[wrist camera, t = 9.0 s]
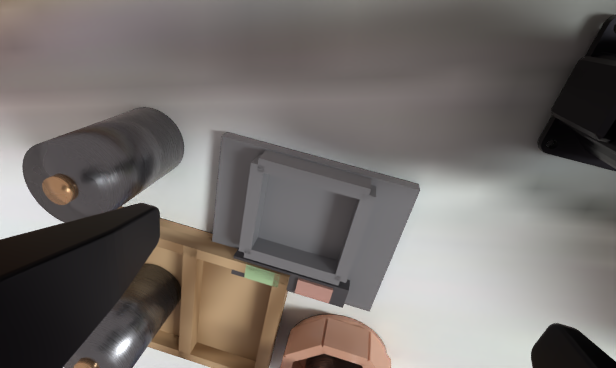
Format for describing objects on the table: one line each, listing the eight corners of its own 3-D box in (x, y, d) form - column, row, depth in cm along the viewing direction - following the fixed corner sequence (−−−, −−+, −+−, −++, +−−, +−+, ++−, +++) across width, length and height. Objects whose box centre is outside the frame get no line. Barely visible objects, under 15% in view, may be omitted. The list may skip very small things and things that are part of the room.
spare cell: (185, 117, 21) (95, 161, 14) (182, 179, 23) (103, 242, 16) (120, 99, 21) (3, 135, 15) (123, 162, 23) (22, 217, 17)
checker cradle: (418, 184, 20) (422, 201, 18) (369, 302, 25) (368, 327, 23) (227, 132, 21) (211, 143, 19) (214, 256, 25) (200, 275, 23)
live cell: (182, 273, 26) (113, 361, 19) (181, 312, 28) (119, 405, 21) (129, 257, 26) (44, 338, 19) (132, 297, 28) (55, 383, 21)
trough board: (295, 258, 24) (289, 277, 22) (270, 362, 30) (263, 384, 28) (115, 204, 25) (95, 218, 23) (123, 315, 31) (107, 333, 29)
